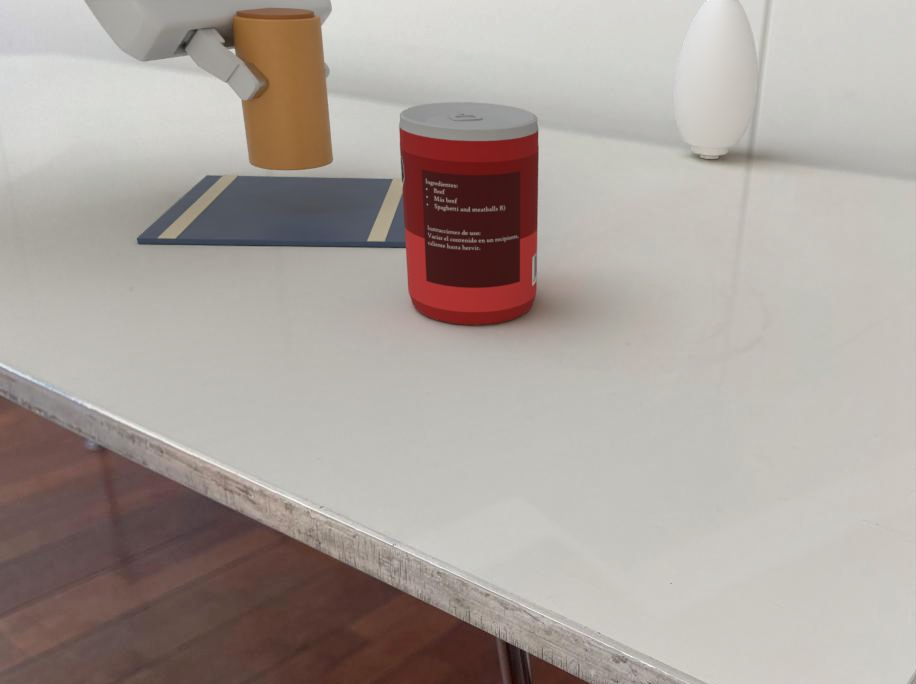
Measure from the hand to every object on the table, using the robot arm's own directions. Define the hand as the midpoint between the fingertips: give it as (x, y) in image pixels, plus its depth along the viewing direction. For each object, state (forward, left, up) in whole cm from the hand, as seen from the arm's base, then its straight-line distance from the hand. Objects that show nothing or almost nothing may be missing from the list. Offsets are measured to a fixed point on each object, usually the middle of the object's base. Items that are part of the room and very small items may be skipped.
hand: (290, 86), depth 72 cm
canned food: (+13, -19, -9) cm, 25 cm away
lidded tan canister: (-1, 0, -5) cm, 5 cm away
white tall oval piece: (+35, +23, -9) cm, 43 cm away
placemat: (-1, +1, -9) cm, 9 cm away
